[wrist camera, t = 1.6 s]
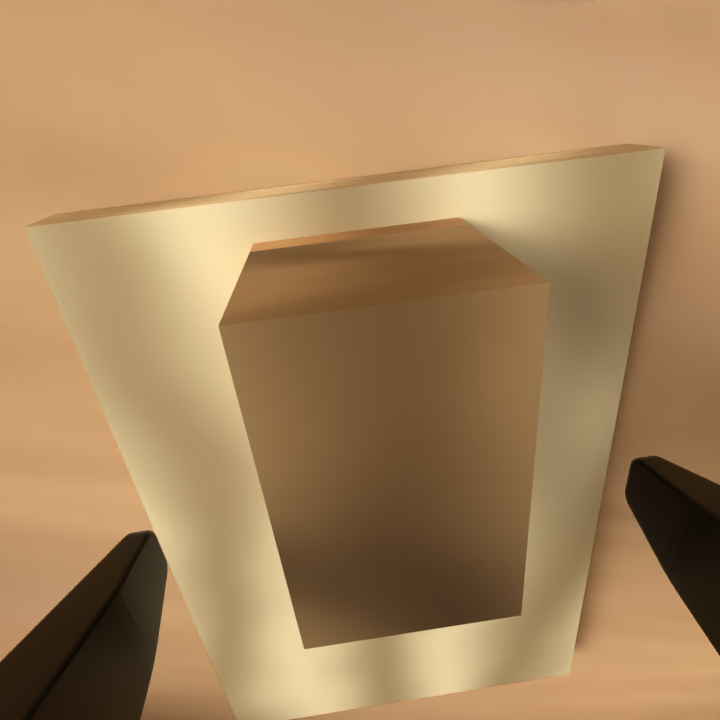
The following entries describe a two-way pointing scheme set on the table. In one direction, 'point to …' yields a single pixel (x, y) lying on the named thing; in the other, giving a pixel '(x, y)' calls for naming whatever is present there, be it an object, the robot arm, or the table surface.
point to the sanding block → (392, 422)
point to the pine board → (230, 441)
